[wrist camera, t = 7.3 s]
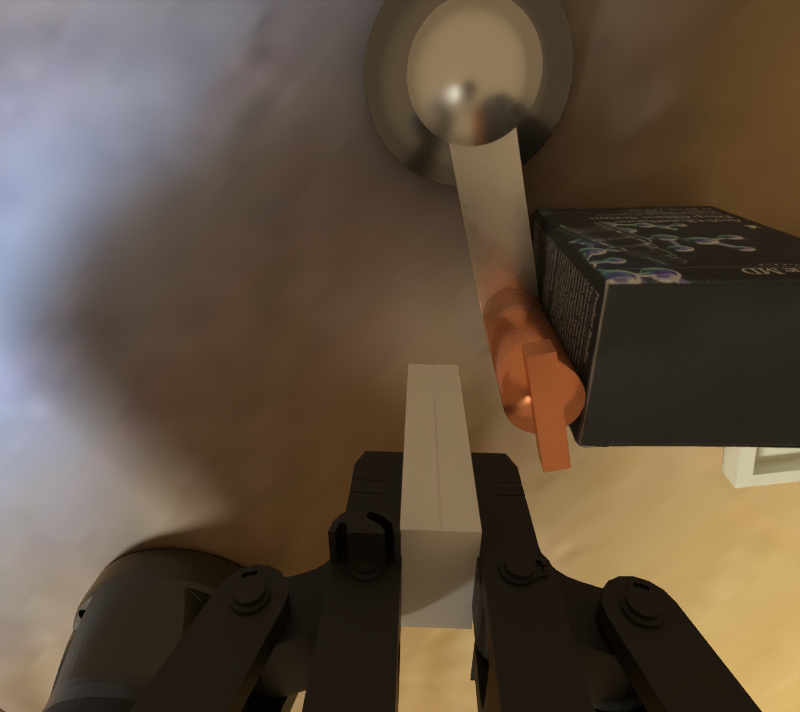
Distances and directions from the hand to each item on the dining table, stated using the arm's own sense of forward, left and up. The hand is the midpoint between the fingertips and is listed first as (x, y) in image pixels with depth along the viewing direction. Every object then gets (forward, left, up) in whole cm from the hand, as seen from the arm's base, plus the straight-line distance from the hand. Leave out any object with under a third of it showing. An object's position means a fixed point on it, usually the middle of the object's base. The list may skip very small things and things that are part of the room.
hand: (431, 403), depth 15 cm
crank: (+4, -3, -9) cm, 10 cm away
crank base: (+9, -3, -10) cm, 14 cm away
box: (0, -9, -10) cm, 13 cm away
